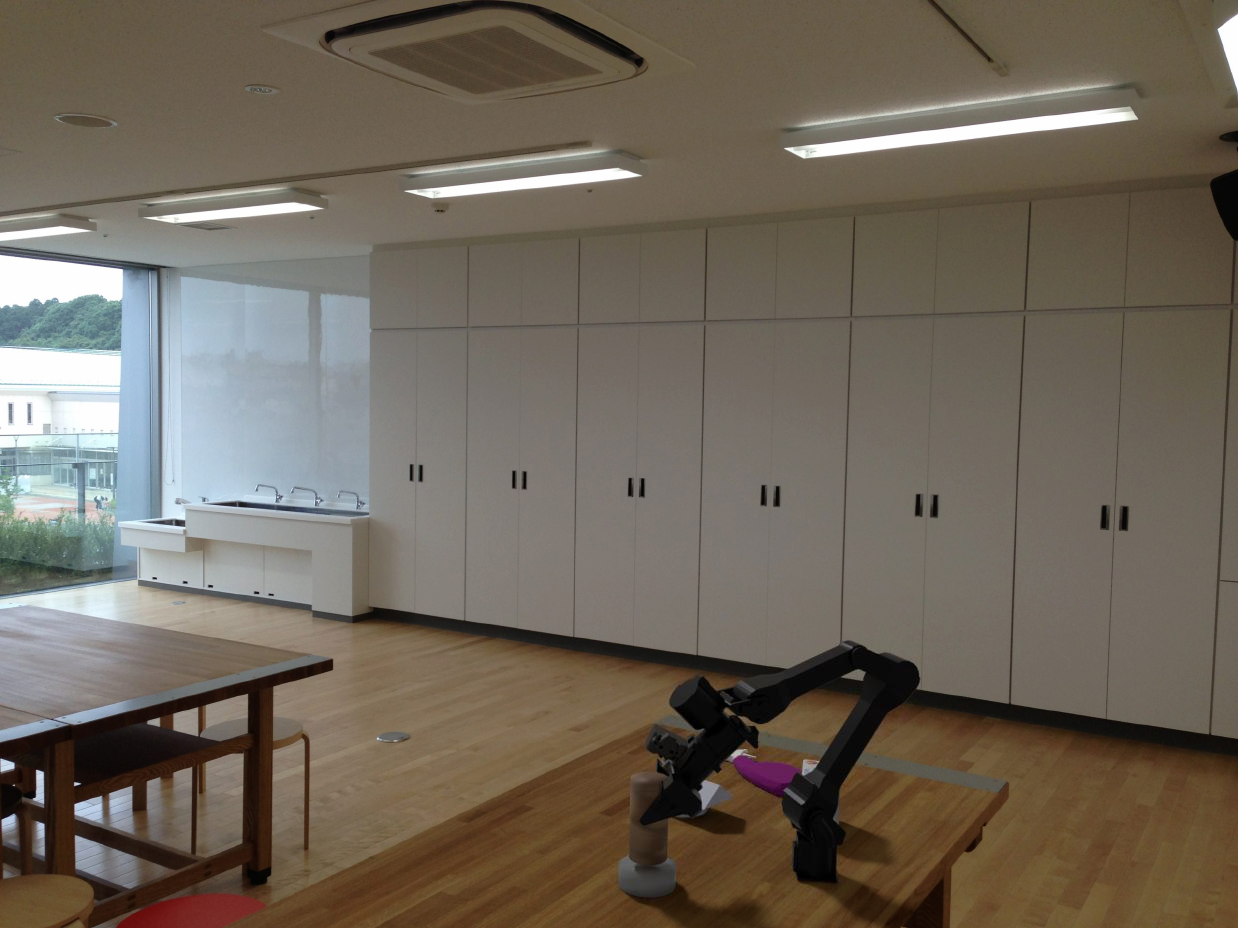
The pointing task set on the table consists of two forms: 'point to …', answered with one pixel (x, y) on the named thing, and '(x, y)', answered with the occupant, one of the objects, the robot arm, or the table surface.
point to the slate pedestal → (647, 878)
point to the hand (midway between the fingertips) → (640, 815)
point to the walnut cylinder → (650, 839)
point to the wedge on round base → (711, 796)
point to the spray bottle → (764, 772)
